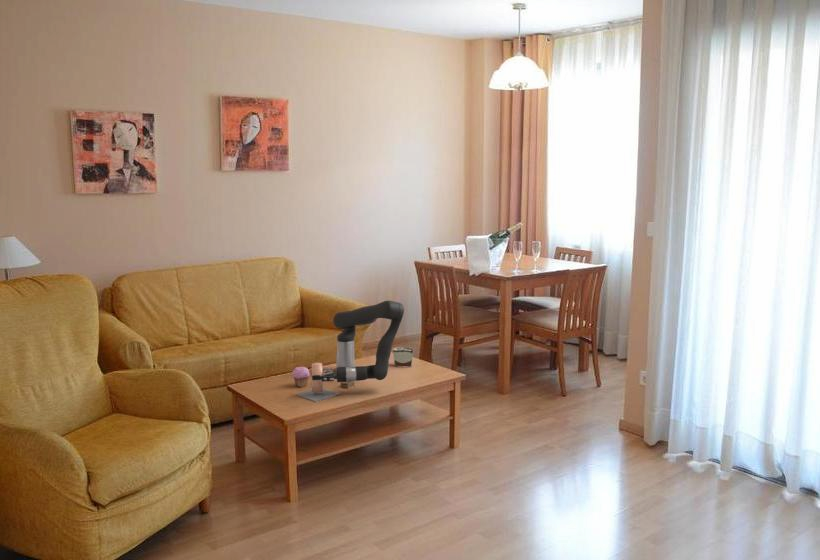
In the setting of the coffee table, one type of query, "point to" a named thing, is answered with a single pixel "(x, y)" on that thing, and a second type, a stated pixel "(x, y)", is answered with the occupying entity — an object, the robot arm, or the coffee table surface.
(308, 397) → the charcoal mat
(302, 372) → the cupcake
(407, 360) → the food container
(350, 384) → the walnut block
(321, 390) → the terracotta canister
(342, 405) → the coffee table surface
